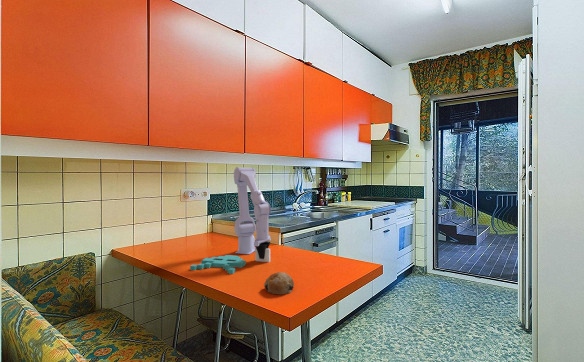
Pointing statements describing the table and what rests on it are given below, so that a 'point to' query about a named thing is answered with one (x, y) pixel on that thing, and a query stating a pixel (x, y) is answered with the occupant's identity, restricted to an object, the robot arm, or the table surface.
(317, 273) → the table surface
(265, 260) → the tile
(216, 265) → the alien figure
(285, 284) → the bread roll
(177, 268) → the table surface
